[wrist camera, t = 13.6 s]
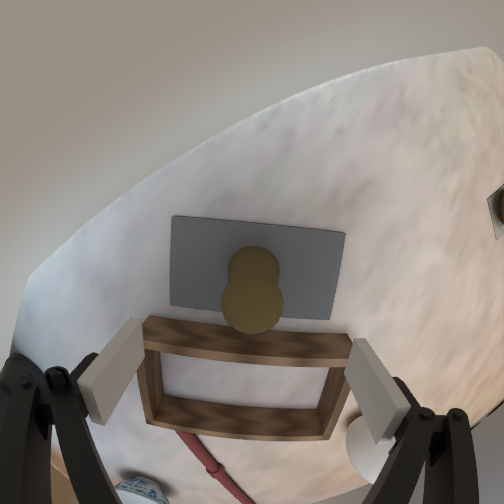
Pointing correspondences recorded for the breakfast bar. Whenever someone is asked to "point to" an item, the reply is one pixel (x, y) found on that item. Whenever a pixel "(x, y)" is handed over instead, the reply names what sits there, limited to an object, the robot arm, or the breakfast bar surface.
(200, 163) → the breakfast bar surface
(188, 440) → the red rod with collar
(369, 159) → the breakfast bar surface
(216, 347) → the wooden box
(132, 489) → the chinaware
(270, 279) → the olive dumbbell shape
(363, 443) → the white bulb air blower
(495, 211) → the condiment
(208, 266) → the charcoal mat
